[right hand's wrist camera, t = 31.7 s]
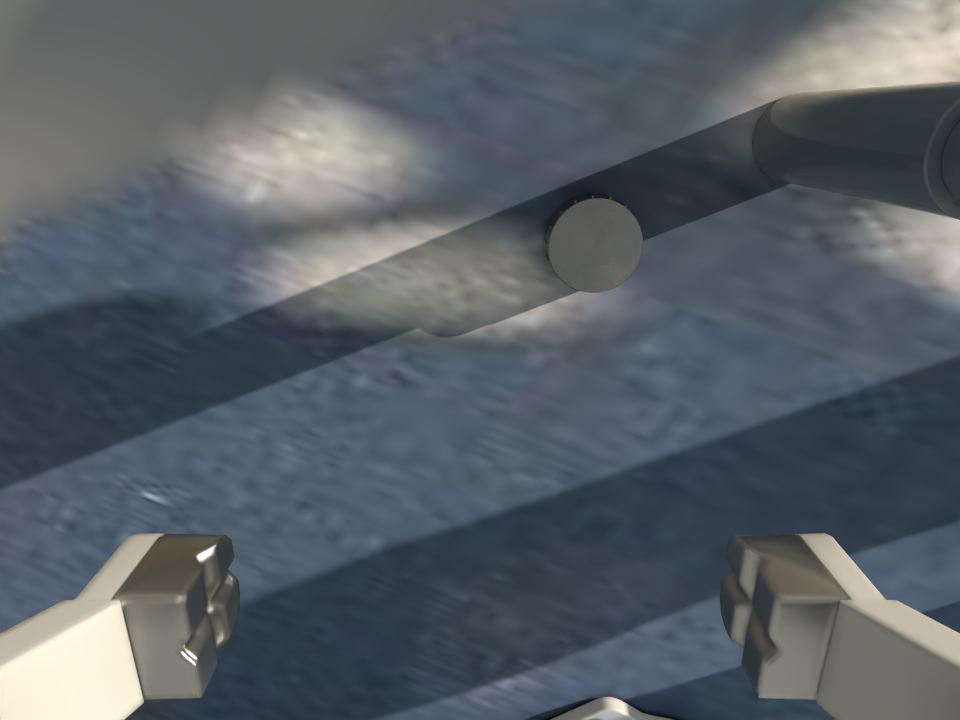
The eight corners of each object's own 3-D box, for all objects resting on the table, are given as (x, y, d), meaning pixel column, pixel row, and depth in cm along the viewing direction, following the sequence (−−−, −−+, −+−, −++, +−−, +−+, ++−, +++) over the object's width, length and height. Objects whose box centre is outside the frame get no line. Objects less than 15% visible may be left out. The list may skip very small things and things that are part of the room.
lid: (541, 196, 35) (544, 201, 33) (636, 188, 35) (644, 192, 33) (546, 288, 36) (549, 297, 35) (636, 280, 36) (644, 289, 34)
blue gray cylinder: (841, 168, 34) (1114, 207, 19) (758, 191, 35) (963, 247, 20) (833, 81, 33) (1121, 52, 18) (746, 107, 33) (958, 99, 18)
